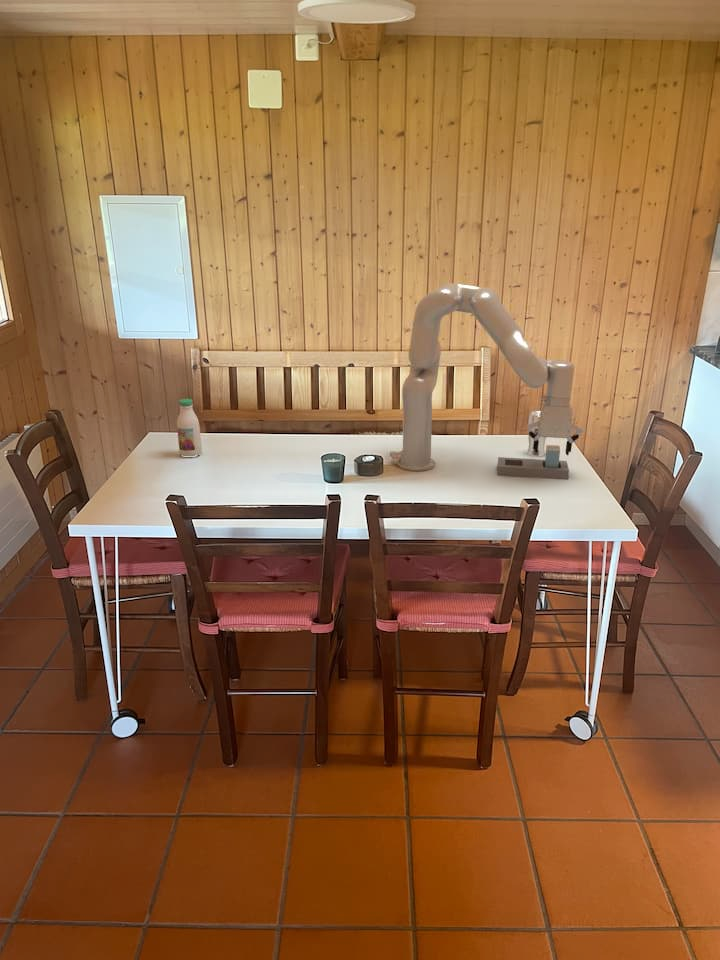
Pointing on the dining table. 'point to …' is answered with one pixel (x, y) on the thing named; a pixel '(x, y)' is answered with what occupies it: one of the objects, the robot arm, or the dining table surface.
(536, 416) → the beer glass
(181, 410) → the milk bottle
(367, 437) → the dining table surface
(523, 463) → the panel
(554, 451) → the plug
